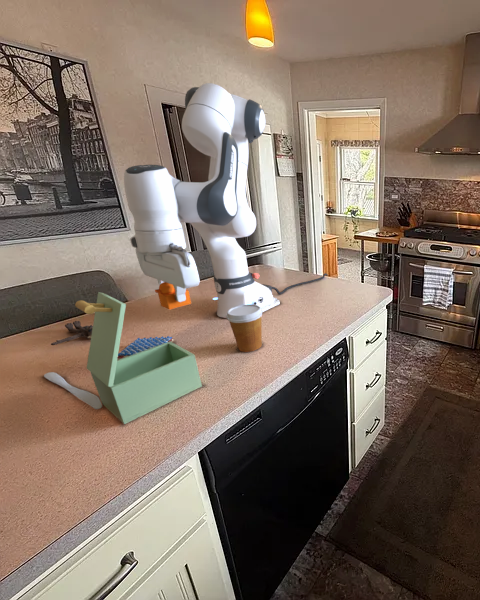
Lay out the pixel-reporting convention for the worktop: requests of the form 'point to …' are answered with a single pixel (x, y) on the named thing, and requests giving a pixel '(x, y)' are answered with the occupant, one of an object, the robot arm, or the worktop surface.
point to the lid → (104, 336)
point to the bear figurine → (81, 330)
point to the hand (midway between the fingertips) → (175, 298)
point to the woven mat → (143, 345)
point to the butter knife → (75, 390)
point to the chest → (149, 381)
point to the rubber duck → (170, 296)
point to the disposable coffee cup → (246, 326)
